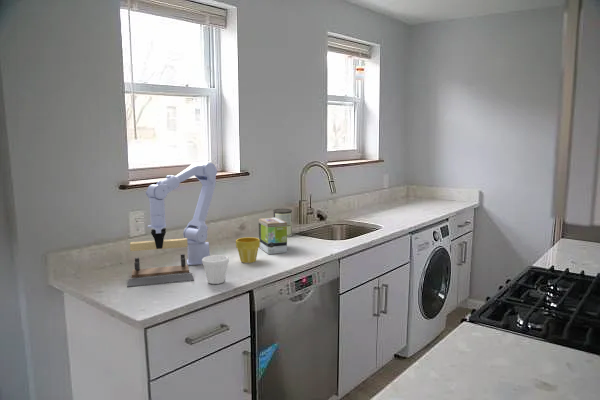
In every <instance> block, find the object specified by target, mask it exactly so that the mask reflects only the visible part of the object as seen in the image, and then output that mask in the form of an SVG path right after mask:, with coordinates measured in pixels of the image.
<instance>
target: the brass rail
mask: <svg viewBox="0 0 600 400" xmlns="http://www.w3.org/2000/svg"><path fill="white" fill-rule="evenodd" d="M129 246H130V247H129V248H130V249H129V250H130V252H139V251H155V250H158V249H157V248H156V244H155V240H144V241H142V240H141V241H130V242H129ZM187 247H188V243H187V238H184V237H183V238H174V239H172V238H171V239H164V240H163V247H162V249H161V250H167V249H178V248H187Z"/></svg>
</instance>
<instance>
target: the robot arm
mask: <svg viewBox="0 0 600 400" xmlns="http://www.w3.org/2000/svg"><path fill="white" fill-rule="evenodd" d="M217 174H218V169H217V167H216V166H215V164H214V163H213V162H200V161H196V162H193V163H192V164H190V165H189V166H188V167H187V168H185V169H183V170H181V172H179V173H178V174H176V175H173V174H168V175H166V176H165V178H163V179H162V180H158V181H157V183H156V184H155V183H153V184H150V185H148V187H147V189H146V191H145V194H146V197H147V198H148V202H149V214H150V215H149V217H150V224H148V225H147V228H148V229H151V232H150V234H151V236H152V237H153V241H155V244H156V248H157V249H156V250H163V249H162V247H163V240H165V235H166V233H167V231H166V230H167V228H166V227H167V223H166V204H165V199H166V198H167V196H168V194H170V193H171V192H173V191H174V190H176V189H178V188H179V187H180V183H182V182H184V181H186V180H189V179H190V178H192V177H195V178H196V179H197V180H198V181H199V182H200V183H201V185H202V186H201V190H200V193H199V196H198V199H197V203H196V207H195V209H194V213H193V217H192V219H190V221H189V222H188V223H187V225H186V226H185V228H184V229H183V233H182V236H183V238H187V243H188V247H186V248H187V251H186V252H187V259H186V265H188V266H197V265H203V263H202V259H203V258H204V257H207V256H211V254H210V244H209V243H210V242H209V241H207V239H208V229H209V227H208V225H207V224H206V220H207V217H208V213H209V210H210V206H211V202H212V200H213V195H214V192H215V188H216V186H217V185H216V184H217V183H216V182H217V181H216V180H217V179H216V178H217V177H216V176H217Z"/></svg>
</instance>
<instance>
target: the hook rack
mask: <svg viewBox="0 0 600 400" xmlns="http://www.w3.org/2000/svg"><path fill="white" fill-rule="evenodd" d="M185 255H186V254H185V253H180V265H170V266H169V265H168V266H161V267H160V266H159V267H148V268H147V267H146V268H141V266H140V257H139V256H138V257H134V269H132V272H131V279H134V278H144V277H155V276H166V275H177V274H187V273H190V268H189V265H187V261H186V258H185Z"/></svg>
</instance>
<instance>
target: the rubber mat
mask: <svg viewBox="0 0 600 400" xmlns="http://www.w3.org/2000/svg"><path fill="white" fill-rule="evenodd" d="M183 282H184V283H185V282H194V274H193V273H192V272H189V273H178V274H168V275H157V276H146V277H135V278H128V279H127V285H126V287H127V288H132V287H143V286H153V285H154V286H155V285H163V284H164V285H165V284H173V283H183Z"/></svg>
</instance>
